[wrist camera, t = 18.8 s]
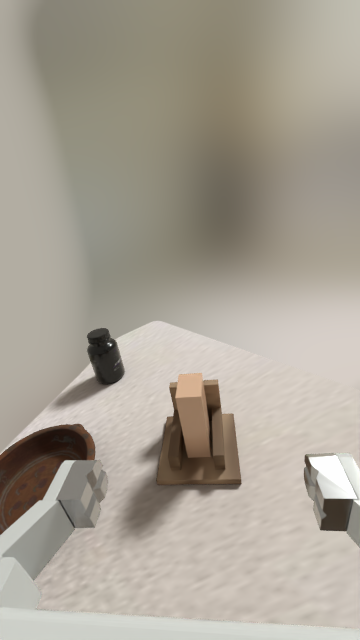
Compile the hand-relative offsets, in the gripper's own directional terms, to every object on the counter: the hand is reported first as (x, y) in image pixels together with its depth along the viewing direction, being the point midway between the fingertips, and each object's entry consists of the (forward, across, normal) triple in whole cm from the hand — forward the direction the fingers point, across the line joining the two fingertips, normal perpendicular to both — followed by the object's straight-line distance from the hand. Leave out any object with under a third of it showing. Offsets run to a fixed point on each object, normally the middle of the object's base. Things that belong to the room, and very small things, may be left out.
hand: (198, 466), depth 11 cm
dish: (+16, +27, +28) cm, 43 cm away
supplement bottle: (+44, +26, +28) cm, 58 cm away
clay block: (+23, +4, +27) cm, 36 cm away
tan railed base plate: (+23, +4, +28) cm, 37 cm away
